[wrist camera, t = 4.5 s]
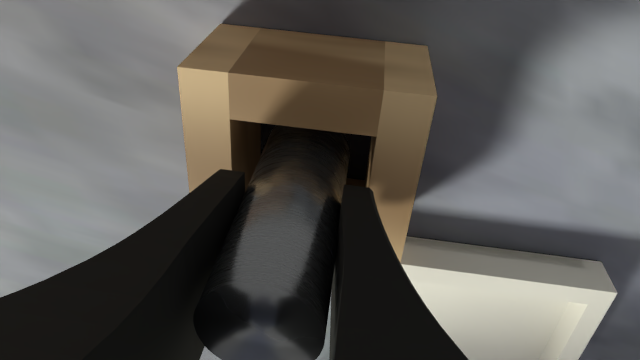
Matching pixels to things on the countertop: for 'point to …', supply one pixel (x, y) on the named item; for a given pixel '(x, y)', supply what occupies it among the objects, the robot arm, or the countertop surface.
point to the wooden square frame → (310, 105)
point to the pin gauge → (279, 253)
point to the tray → (509, 298)
